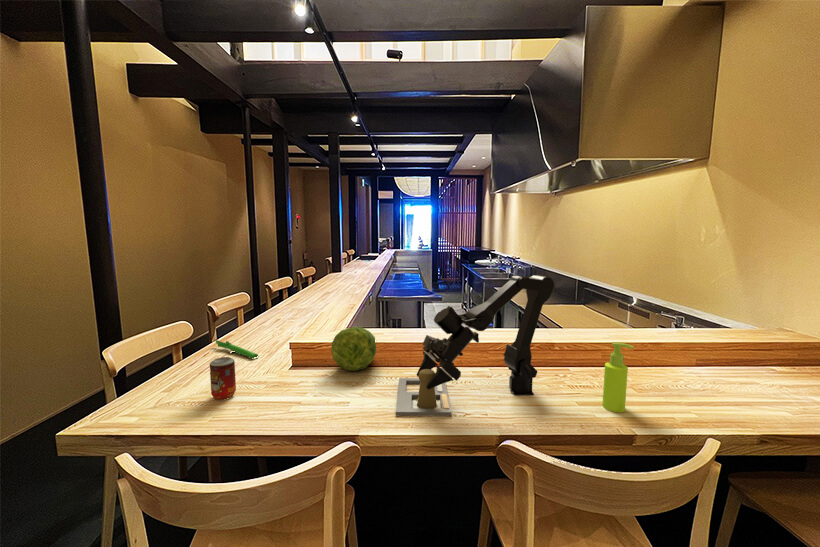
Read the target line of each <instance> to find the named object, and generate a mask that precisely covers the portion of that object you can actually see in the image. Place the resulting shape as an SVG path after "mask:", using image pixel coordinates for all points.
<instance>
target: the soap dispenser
mask: <svg viewBox="0 0 820 547" xmlns="http://www.w3.org/2000/svg"><path fill="white" fill-rule="evenodd" d="M611 346H612V347H613V352H610V355H609V358H610V359H609V362H605V363H604V371H603V372H604V373H603V374H604V375H603V391H602V405H601V406H602V407H603V408H604V409H605V410H607V411H610V412H614V413H623V412H625V411H626V401H627V400H626V397H627V386H628V384H627V383H628V373H629V372H628V370H629V368H628V366H627V365H626V364H624V354H622V353H621V350H622V348H626V349H630V350H633V349H634V347H635V346H634V345H632V344H629V343H623V342H612V343H611Z"/></svg>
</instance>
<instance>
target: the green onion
mask: <svg viewBox="0 0 820 547" xmlns="http://www.w3.org/2000/svg"><path fill="white" fill-rule="evenodd" d="M215 343H216V344H217V347H218V348H224V349H228V350H229V351H235V352H237V354H239V353H240V354H239V355H241V354H242V355H241V356H244V355H245V356H244V357H246V356H248V357H247V358H249V357H250V358H249V359H251V358H254V357H257V356H258V357H259V354H257V353H255V352H253V351H251V350H250V351H249V350H248V349H245V348H242V347H241V346H237V345H234V344H232V343H231V342H229V341H228V340H226V341H225V342H223V341H219V339H218V340H217V339H216V340H215Z"/></svg>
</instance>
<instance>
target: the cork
mask: <svg viewBox="0 0 820 547" xmlns="http://www.w3.org/2000/svg"><path fill="white" fill-rule="evenodd" d="M435 373H436V371H434V370H433V369H423V370H421V371H420V372H419V377H418V378H419V380H420V384H419V389H418V392H419V395H418V398H417V403H416V406H417V407H418V409H437V406H438V405H437V398H436V395H435V387H433V388H431V389H427V388H426V386H427V384H428V383H429V381H430V380H431V378H432V377H433V376H434V374H435Z"/></svg>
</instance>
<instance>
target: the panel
mask: <svg viewBox="0 0 820 547" xmlns="http://www.w3.org/2000/svg"><path fill="white" fill-rule="evenodd" d="M413 384H414V385H418V384H419V385H420V380H419V377H418V378H417V377H415V378H414V377H399V378H398V387H397V397H396V407H395V408H396V409H395V416H396V415H399V416H398V417H452V408H451V407H452V406H451V403H450V400H449V399H450V397H449V394H448V390H447V385H446V383H443V384H440V385H438V386H436V387H435V395H436V399H439V401H440V406H441V408H434V409H420V408H412V407H413V406H412V404H413V403H412V402H413V401H412V399H418V395H419V391H407V385H413Z"/></svg>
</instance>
